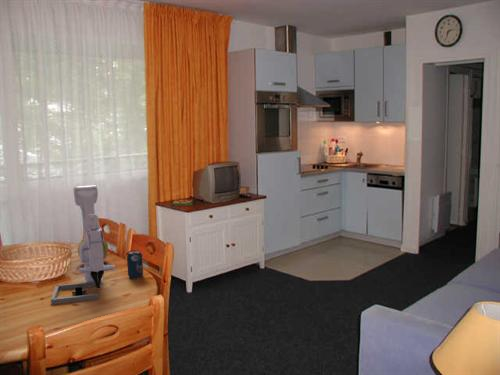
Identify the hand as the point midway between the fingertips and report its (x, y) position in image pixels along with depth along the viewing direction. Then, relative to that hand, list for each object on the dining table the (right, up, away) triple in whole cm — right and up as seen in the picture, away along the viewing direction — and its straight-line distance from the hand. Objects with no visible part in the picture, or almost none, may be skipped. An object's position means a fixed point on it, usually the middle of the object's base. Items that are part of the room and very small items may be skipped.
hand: (98, 287), depth 210 cm
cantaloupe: (-15, +4, +40) cm, 43 cm away
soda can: (+12, +1, +19) cm, 22 cm away
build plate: (-7, -3, -3) cm, 8 cm away
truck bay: (-9, -2, -2) cm, 9 cm away
